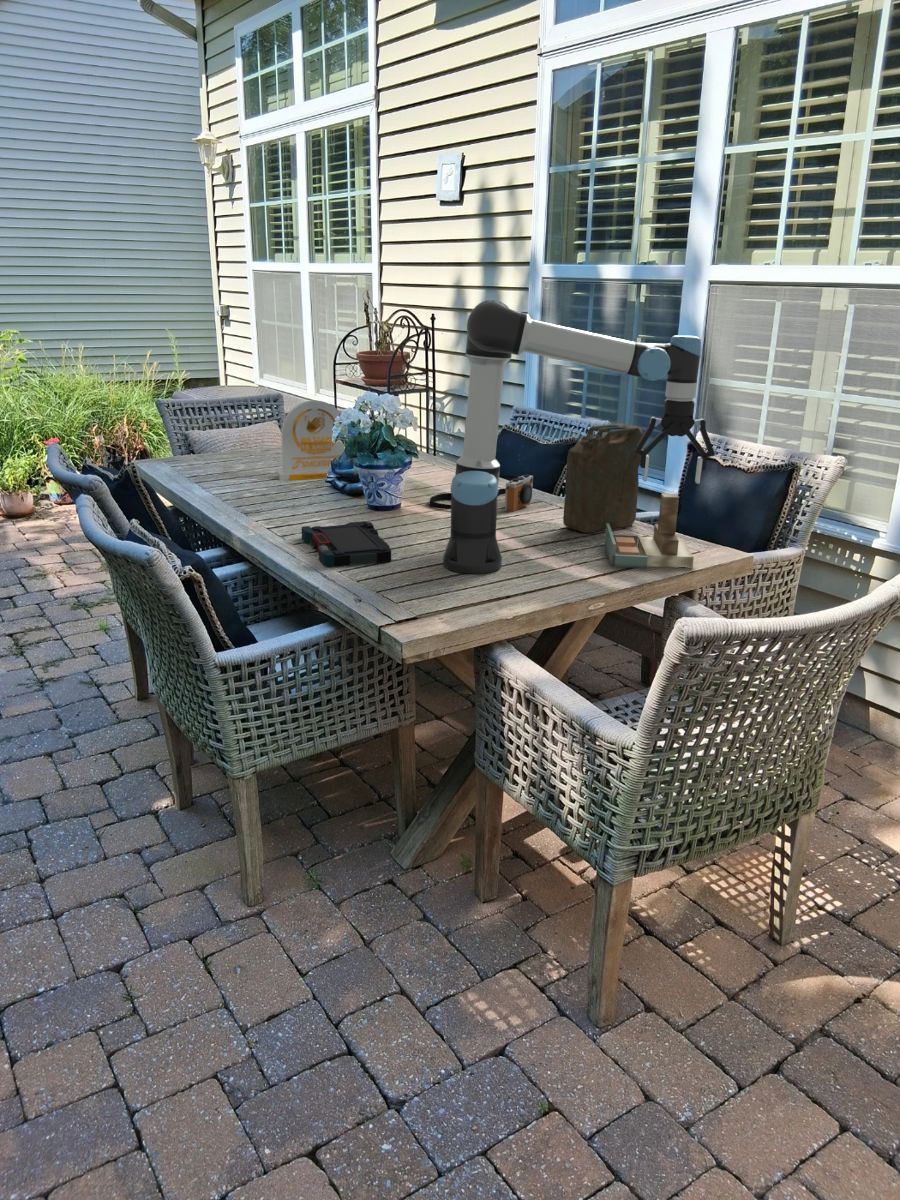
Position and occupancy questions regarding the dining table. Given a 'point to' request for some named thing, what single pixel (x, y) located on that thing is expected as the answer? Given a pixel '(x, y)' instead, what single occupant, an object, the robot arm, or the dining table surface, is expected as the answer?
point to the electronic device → (347, 544)
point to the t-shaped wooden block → (667, 525)
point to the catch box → (622, 559)
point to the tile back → (624, 542)
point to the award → (308, 441)
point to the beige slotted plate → (658, 560)
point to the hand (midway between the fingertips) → (670, 481)
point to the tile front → (628, 551)
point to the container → (603, 479)
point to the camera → (515, 493)
